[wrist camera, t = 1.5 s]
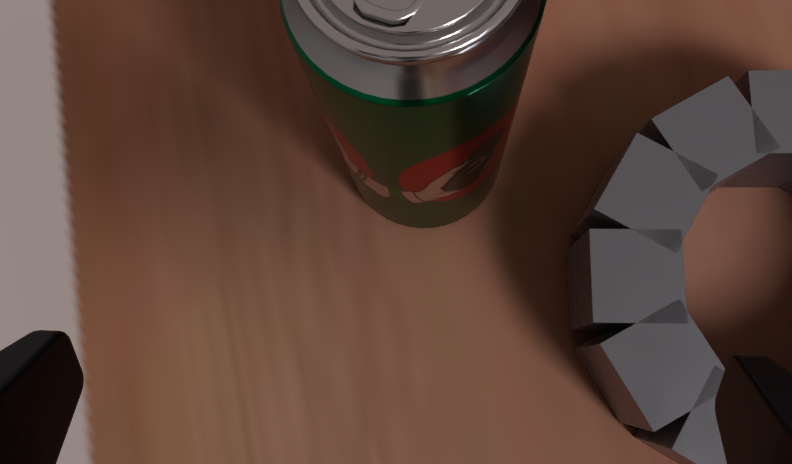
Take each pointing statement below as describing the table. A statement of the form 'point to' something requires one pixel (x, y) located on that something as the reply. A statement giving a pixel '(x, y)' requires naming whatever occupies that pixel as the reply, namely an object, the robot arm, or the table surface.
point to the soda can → (417, 94)
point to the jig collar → (669, 256)
